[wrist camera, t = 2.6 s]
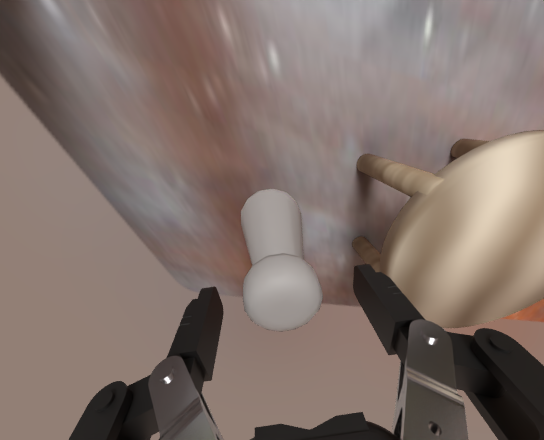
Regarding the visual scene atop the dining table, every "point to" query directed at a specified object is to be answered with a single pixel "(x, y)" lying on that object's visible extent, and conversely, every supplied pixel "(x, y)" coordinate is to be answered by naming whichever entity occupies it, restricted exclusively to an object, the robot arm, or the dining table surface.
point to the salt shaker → (277, 264)
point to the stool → (466, 230)
